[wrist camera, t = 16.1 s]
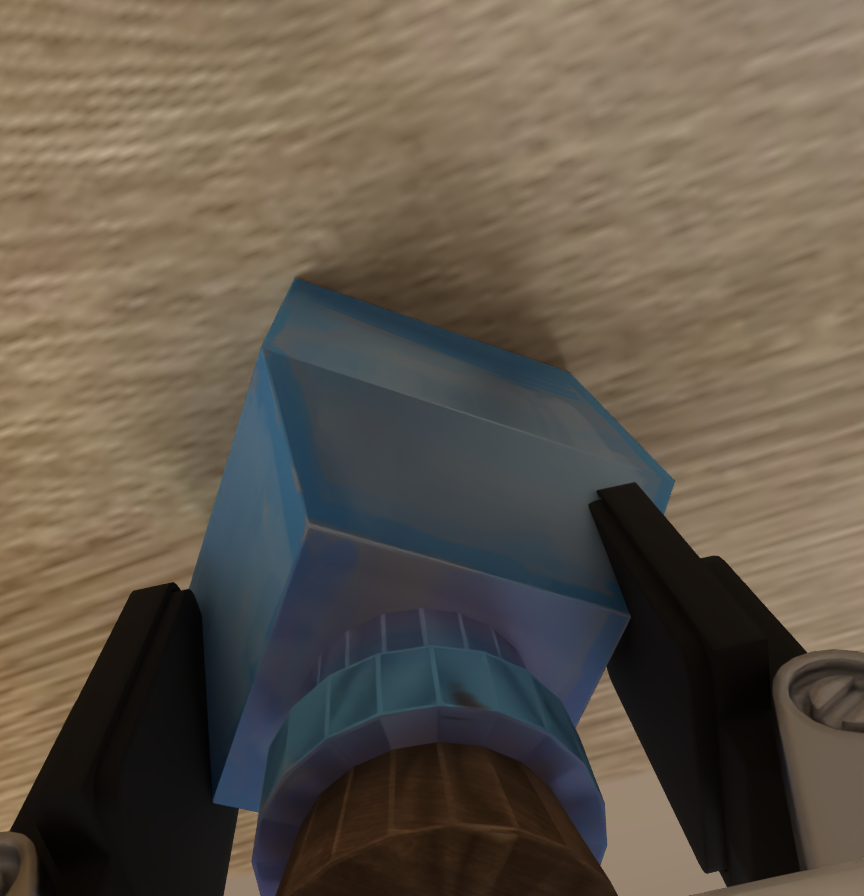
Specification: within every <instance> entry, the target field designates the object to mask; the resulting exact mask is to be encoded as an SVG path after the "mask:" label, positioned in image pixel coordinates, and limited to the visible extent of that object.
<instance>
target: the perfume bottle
mask: <svg viewBox="0 0 864 896" xmlns="http://www.w3.org/2000/svg"><path fill="white" fill-rule="evenodd" d="M632 482H635V483H637V484H638V485H639V486H640V488H641V489H642V490H643V491H644V492H645V494H646V495H647V496H648V497H649V498H650V499H651V501H652V502H653V503H654V504H655V505H656V507H657V508H658V509H659V510H660V511H661V512H662V514H663V515H664V513H665V510H666V507H667V504H668V501H669V498H670V495H671V491H672V488H673V485H674V482H675V480H674V479H673V478H672V477H671V476H670V475H669V474H668V473H667V472H666V471H665V470H664V469H663V468H662V467H661V466H660V465H659V464H658V463H657V462H656V461H655V460H654V459H653V458H652V457H651V456H650V455H649V454H648V453H647V452H646V451H645V450H644V448H643V447H642V446H641V445H640V444H639V443H638V442H637V441H636V440H635V439H634V438H633V437H632V436H631V435H630V434H629V433H628V432H627V431H626V430H625V429H624V428H623V427H622V426H621V425H620V424H619V423H618V422H617V421H616V420H615V419H614V418H613V417H612V416H611V415H610V414H609V413H608V412H607V410H606V409H605V408H604V407H603V406H602V405H601V404H600V403H599V402H598V401H597V400H596V399H595V398H594V397H593V396H592V395H591V394H590V393H589V392H588V391H587V390H586V389H585V388H584V387H583V386H582V385H581V384H580V383H579V382H578V381H577V380H576V379H575V378H574V377H573V376H572V375H571V373H570V372H567V371H564V370H561V369H558V368H555V367H553V366H550V365H547V364H544V363H541V362H538V361H535V360H532V359H529V358H526V357H524V356H521V355H518V354H515V353H512V352H509V351H506V350H503V349H500V348H497V347H495V346H492V345H489V344H486V343H483V342H480V341H477V340H474V339H471V338H468V337H466V336H463V335H460V334H457V333H454V332H451V331H448V330H445V329H442V328H439V327H437V326H434V325H431V324H428V323H425V322H422V321H419V320H416V319H413V318H410V317H408V316H405V315H402V314H399V313H396V312H393V311H390V310H387V309H384V308H381V307H379V306H376V305H373V304H370V303H367V302H364V301H361V300H358V299H355V298H352V297H350V296H347V295H344V294H341V293H338V292H335V291H332V290H329V289H326V288H323V287H321V286H318V285H315V284H312V283H309V282H306V281H303V280H300V279H297V278H295V279H294V281H293V283H292V285H291V287H290V289H289V291H288V293H287V295H286V297H285V299H284V301H283V303H282V305H281V307H280V309H279V311H278V313H277V315H276V317H275V319H274V322H273V324H272V326H271V328H270V330H269V332H268V334H267V336H266V338H265V340H264V342H263V344H262V346H261V349H260V353H259V356H258V359H257V363H256V366H255V369H254V373H253V376H252V379H251V383H250V386H249V389H248V393H247V396H246V399H245V403H244V406H243V409H242V413H241V416H240V419H239V423H238V426H237V429H236V433H235V436H234V440H233V443H232V446H231V450H230V453H229V456H228V460H227V463H226V466H225V470H224V473H223V476H222V480H221V483H220V486H219V490H218V493H217V496H216V500H215V503H214V506H213V510H212V513H211V517H210V520H209V523H208V527H207V530H206V533H205V537H204V540H203V543H202V547H201V550H200V553H199V557H198V560H197V563H196V567H195V570H194V573H193V577H192V580H191V583H190V587H189V589H190V590H191V591H192V592H193V593H194V595H195V598H196V600H197V603H198V606H199V609H200V612H201V614H202V627H203V644H204V662H205V679H206V696H207V713H208V731H209V748H210V765H211V783H212V800H213V803H216V804H221V805H226V806H230V807H235V808H240V809H245V810H250V811H255V812H259V815H258V822H257V828H256V835H255V842H254V849H253V856H252V865H253V869H254V873H255V876H256V880H257V883H258V887H259V891H260V895H261V896H618V895H617V893H616V891H615V889H614V887H613V885H612V884H611V882H610V880H609V879H608V877H607V876H606V874H605V872H604V871H603V869H602V868H601V866H600V865H601V862H602V859H603V856H604V853H605V850H606V847H607V835H606V819H605V818H606V817H605V803H604V800H603V797H602V795H601V792H600V790H599V787H598V784H597V782H596V779H595V777H594V774H593V771H592V769H591V766H590V763H589V761H588V758H587V756H586V753H585V750H584V748H583V745H582V743H581V740H580V737H579V735H578V733H577V731H576V729H575V728H576V726H577V724H578V722H579V720H580V718H581V716H582V714H583V712H584V710H585V708H586V706H587V704H588V702H589V700H590V698H591V696H592V694H593V692H594V690H595V688H596V686H597V684H598V682H599V680H600V678H601V676H602V674H603V672H604V670H605V668H606V666H607V664H608V662H609V660H610V658H611V656H612V654H613V652H614V650H615V648H616V646H617V644H618V642H619V640H620V638H621V636H622V634H623V632H624V630H625V628H626V626H627V624H628V622H629V620H630V618H631V616H630V613H629V611H628V608H627V605H626V603H625V600H624V597H623V595H622V592H621V590H620V587H619V584H618V582H617V579H616V577H615V574H614V571H613V569H612V566H611V563H610V561H609V558H608V556H607V553H606V550H605V548H604V545H603V543H602V540H601V537H600V535H599V532H598V529H597V527H596V524H595V522H594V519H593V516H592V514H591V511H590V509H589V506H588V504H590V503H591V502H593V501H596V500H600V499H601V498H600V497H599V496H598V494H597V490H600V489H604V488H609V487H614V486H618V485H623V484H627V483H632Z"/></svg>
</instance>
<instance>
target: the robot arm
mask: <svg viewBox="0 0 864 896" xmlns="http://www.w3.org/2000/svg"><path fill="white" fill-rule="evenodd" d="M597 494H598V496H599V497H600V498H601V499H600V500H596V501H593V502H591V503H590V504H588V506H589V509H590V511H591V514H592V516H593V519H594V522H595V524H596V527H597V529H598V532H599V535H600V537H601V540H602V543H603V545H604V548H605V550H606V553H607V556H608V558H609V561H610V563H611V566H612V569H613V571H614V574H615V577H616V579H617V582H618V584H619V587H620V590H621V592H622V595H623V597H624V600H625V603H626V605H627V608H628V611H629V613H630V616H631V618H630V620H629V622H628V624H627V626H626V628H625V630H624V632H623V634H622V636H621V638H620V640H619V642H618V644H617V646H616V648H615V650H614V652H613V654H612V656H611V658H610V660H609V662H608V664H607V670H608V673H609V676H610V679H611V681H612V684H613V686H614V688H615V690H616V692H617V694H618V696H619V698H620V700H621V703H622V705H623V707H624V709H625V711H626V713H627V715H628V717H629V719H630V721H631V723H632V725H633V727H634V730H635V732H636V734H637V736H638V738H639V740H640V742H641V744H642V746H643V748H644V750H645V752H646V755H647V757H648V759H649V761H650V763H651V765H652V767H653V769H654V771H655V773H656V775H657V777H658V779H659V781H660V784H661V786H662V788H663V790H664V792H665V794H666V796H667V798H668V800H669V802H670V804H671V807H672V808H673V811H674V813H675V815H676V817H677V819H678V821H679V823H680V825H681V827H682V829H683V831H684V834H685V836H686V838H687V840H688V842H689V844H690V846H691V848H692V850H693V852H694V854H695V856H696V859H697V860H698V863H699V864H700V866H701V868H702V870H703V871H704V872H705V873H712V872H716V871H719V872H720V874H721V876H722V878H723V880H724V882H725V884H726V886H727V888H722V889H718V890H713V891H709V892H704V893H699V894H695V895H690V896H864V653H862V652H858V651H848V650H835V649H833V650H823V651H813V652H809V653H807V652H806V651H805V650H804V648H803V647H802V646H801V645H800V644H799V643H798V642H797V641H796V640H795V638H794V637H793V636H792V635H791V634H790V633H789V632H788V631H787V630H786V628H785V627H784V626H783V625H782V624H781V623H780V622H779V621H778V620H777V618H776V617H775V616H774V615H773V614H772V613H771V612H770V611H769V610H768V608H767V607H766V606H765V605H764V604H763V603H762V602H761V601H760V600H759V598H758V597H757V596H756V595H755V594H754V593H753V592H752V591H751V590H750V588H749V587H748V586H747V585H746V584H745V583H744V582H743V581H742V580H741V578H740V577H739V576H738V575H737V574H736V573H735V572H734V571H733V569H732V568H731V567H730V566H729V565H728V564H727V563H726V562H725V561H724V560H723V559H722V558H721V557H719V556H710V557H705V558H700V557H699V556H698V555H697V554H696V553H695V552H694V550H693V549H692V548H691V547H690V546H689V544H688V543H687V542H686V541H685V540H684V539H683V537H682V536H681V535H680V534H679V533H678V531H677V530H676V529H675V528H674V527H673V526H672V524H671V523H670V522H669V521H668V520H667V518H666V517H665V516H664V515H663V514H662V512H661V511H660V510H659V509H658V508H657V507H656V505H655V504H654V503H653V502H652V501H651V499H650V498H649V497H648V496H647V495H646V494H645V492H644V491H643V490H642V489H641V488H640V486H639V485H638V484H637V483H635V482H632V483H627V484H623V485H618V486H614V487H609V488H604V489H600V490H597ZM238 811H239V808H235V807H230V806H226V805H221V804H216V803H213V800H212V783H211V765H210V748H209V731H208V713H207V696H206V679H205V662H204V644H203V627H202V614H201V612H200V609H199V606H198V603H197V600H196V598H195V595H194V593H193V592H192V591H191V590H190V589H186V590H182V591H181V590H180V588H179V587H178V586H177V584H175V583H174V582H172V583H167V584H162V585H158V586H153V587H149V588H144V589H139V590H135V591H133V592H132V593H131V594H130V596H129V598H128V600H127V602H126V604H125V606H124V608H123V610H122V612H121V614H120V616H119V618H118V620H117V622H116V624H115V626H114V628H113V630H112V632H111V634H110V636H109V638H108V640H107V642H106V644H105V646H104V648H103V650H102V652H101V653H100V655H99V657H98V659H97V661H96V663H95V665H94V667H93V669H92V671H91V673H90V675H89V677H88V679H87V681H86V683H85V685H84V687H83V689H82V691H81V693H80V695H79V697H78V699H77V701H76V702H75V704H74V706H73V708H72V710H71V712H70V713H69V715H68V717H67V719H66V721H65V723H64V725H63V727H62V729H61V731H60V733H59V735H58V737H57V739H56V741H55V743H54V745H53V747H52V749H51V751H50V753H49V755H48V757H47V759H46V761H45V763H44V765H43V767H42V769H41V771H40V773H39V774H38V776H37V778H36V780H35V782H34V784H33V786H32V788H31V790H30V792H29V794H28V796H27V798H26V800H25V802H24V804H23V806H22V808H21V810H20V812H19V814H18V816H17V818H16V820H15V822H14V824H13V826H12V828H11V830H10V831H7V832H0V896H223V895H224V889H225V884H226V878H227V873H228V867H229V861H230V856H231V850H232V844H233V839H234V833H235V828H236V822H237V816H238Z"/></svg>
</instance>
